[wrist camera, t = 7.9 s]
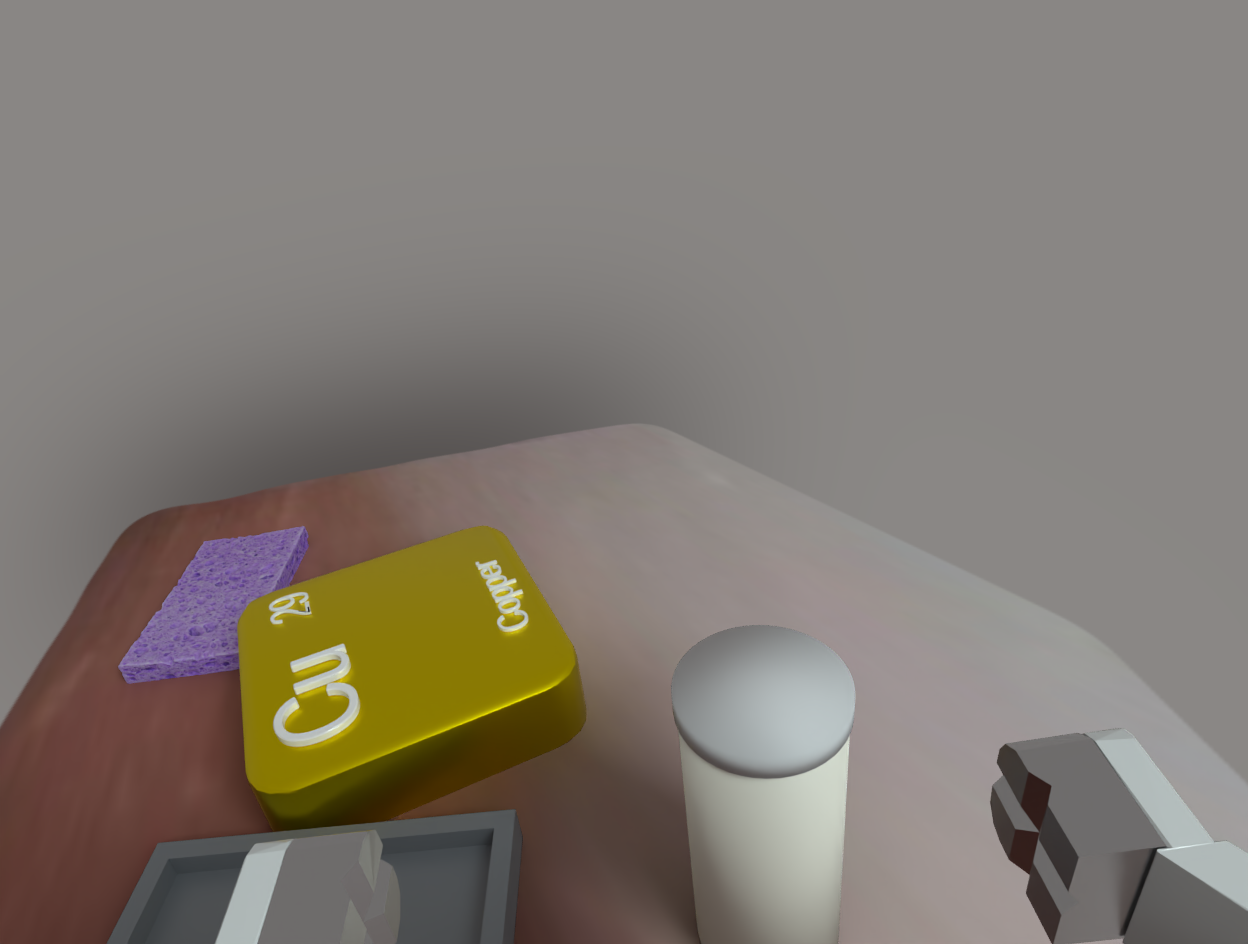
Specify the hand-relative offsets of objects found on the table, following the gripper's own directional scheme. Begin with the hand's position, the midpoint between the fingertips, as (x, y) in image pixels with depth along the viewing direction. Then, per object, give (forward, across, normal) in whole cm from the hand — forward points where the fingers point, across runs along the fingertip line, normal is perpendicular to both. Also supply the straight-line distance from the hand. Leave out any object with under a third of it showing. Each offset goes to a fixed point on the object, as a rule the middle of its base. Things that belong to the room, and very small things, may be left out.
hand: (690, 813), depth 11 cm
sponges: (+34, -26, -22) cm, 48 cm away
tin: (+10, +3, -21) cm, 24 cm away
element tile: (+25, -13, -22) cm, 36 cm away
